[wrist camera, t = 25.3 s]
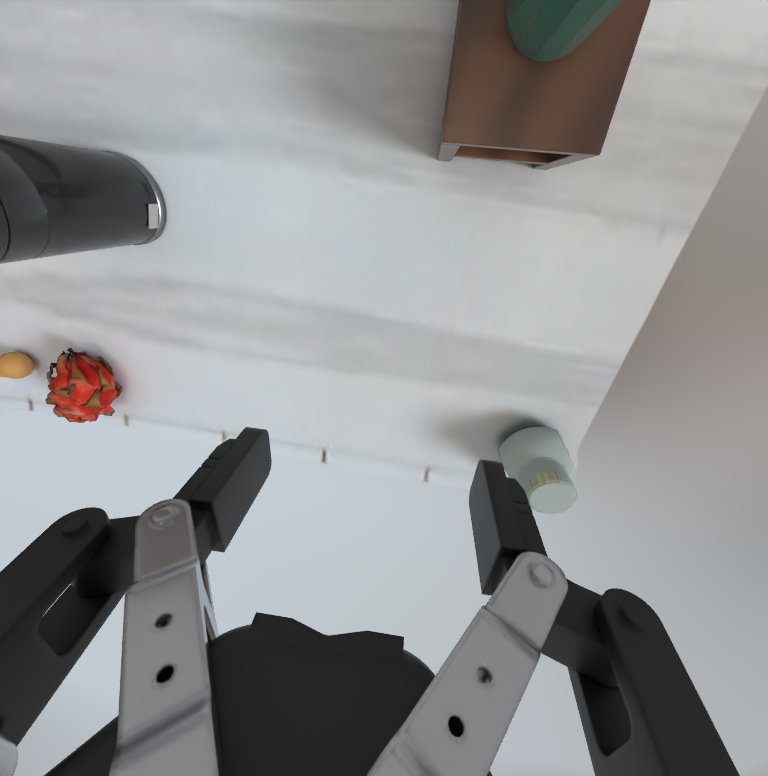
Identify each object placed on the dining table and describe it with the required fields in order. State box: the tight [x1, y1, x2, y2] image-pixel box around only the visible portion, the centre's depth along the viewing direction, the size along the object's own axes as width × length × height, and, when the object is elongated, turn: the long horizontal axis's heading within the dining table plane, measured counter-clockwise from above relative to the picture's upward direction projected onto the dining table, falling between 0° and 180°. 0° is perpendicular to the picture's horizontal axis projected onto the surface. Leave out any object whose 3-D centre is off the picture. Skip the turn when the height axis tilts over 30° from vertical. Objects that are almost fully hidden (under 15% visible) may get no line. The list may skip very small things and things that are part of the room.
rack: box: [437, 0, 651, 170], centre depth 24 cm, size 11×15×14 cm
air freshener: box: [498, 427, 577, 514], centre depth 46 cm, size 11×8×10 cm
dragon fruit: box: [46, 348, 122, 423], centre depth 49 cm, size 8×8×12 cm
